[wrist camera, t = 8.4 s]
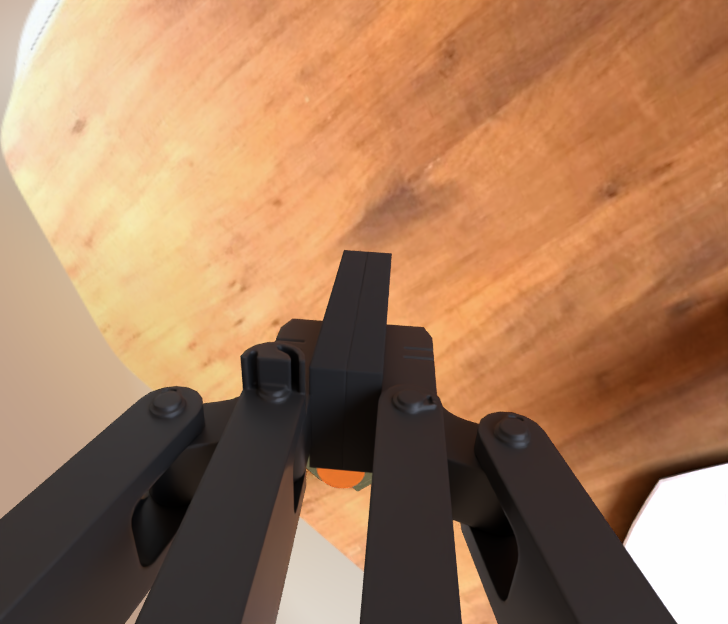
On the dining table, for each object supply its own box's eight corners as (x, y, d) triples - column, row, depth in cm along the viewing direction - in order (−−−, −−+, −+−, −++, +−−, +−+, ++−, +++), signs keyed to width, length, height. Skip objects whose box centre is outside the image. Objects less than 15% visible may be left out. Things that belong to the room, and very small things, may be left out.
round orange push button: (311, 448, 41) (306, 467, 39) (345, 426, 39) (342, 445, 38) (341, 475, 42) (338, 495, 40) (375, 455, 41) (374, 475, 39)
